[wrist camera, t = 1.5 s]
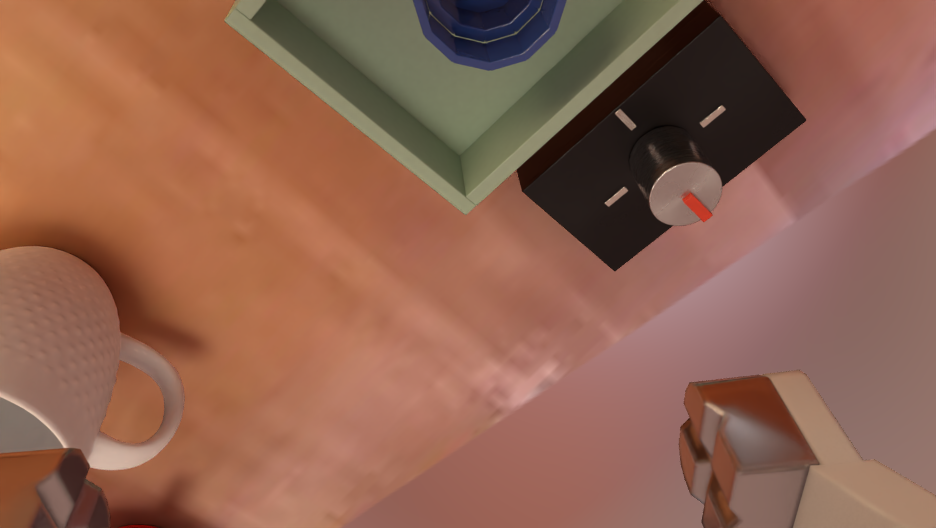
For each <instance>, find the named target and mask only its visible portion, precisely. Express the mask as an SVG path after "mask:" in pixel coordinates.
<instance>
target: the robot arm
mask: <svg viewBox="0 0 936 528" xmlns="http://www.w3.org/2000/svg"><path fill="white" fill-rule="evenodd" d="M684 405H685V408H686V410H687V412H688V415H689V417H690V418H689V419H688V420H687V421H686V422H685V423H684V424H683V425H682V426H681V427H680V438H679V450H680V461H681V467H682V470H683V474H684V478H685V481H686V484H687V486H688V489H689V492H690V494H691V495H692V496H693V497H694V498H696V499H697V500H699V501H700V502H701V503H703V504H704V511H703V516H702V524H703V527H704V528H936V495H934V494H932V493H931V492H929V491H927V490H926V489H924V488H922V487H921V486H919V485H917V484H916V483H914V482H912V481H910V480H909V479H907V478H905V477H903V476H902V475H900V474H898V473H897V472H895V471H894V470H892V469H890V468H888V467H887V466H885V465H883V464H882V463H880V462H878V461H876V460H875V459H874V460H863V459H862V457H861V456H860V455H859V453H858V452H857V450H856V448H855V447H854V445H853V444H852V442H851V441H850V440H849V438H848V436H847V435H846V433H845V432H844V430H843V429H842V427H841V426H840V424H839V423H838V421H837V420H836V418H835V417H834V415H833V414H832V412H831V411H830V409H829V408H828V406H827V405H826V403H825V402H824V400H823V399H822V397H821V396H820V394H819V393H818V391H817V390H816V388H815V387H814V385H813V384H812V382H811V381H810V379H809V378H808V376H807V375H806V374H805V373H803V372H802V371H800V370H795V371H786V372H778V373H769V374H763V375H751V376H743V377H734V378H725V379H716V380H708V381H699V382H690V383H689V385H688V387H687V388H686V391H685V398H684ZM89 468H90V465H89V463H88V461H87V459H86V458H85V456H84V454H83V452H82V451H81V449H77V448H60V449H47V450H35V451H22V452H10V453H0V528H110V512H109V507H108V502H107V499H106V497H105V495H104V493H103V491H102V489H101V488H100V487H98V486H96V485H95V484H93V483H91V482H90V481H88V480H86V479H85V478H86V475H87V473H88V470H89Z"/></svg>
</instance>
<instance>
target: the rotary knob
mask: <svg viewBox="0 0 936 528" xmlns="http://www.w3.org/2000/svg"><path fill="white" fill-rule="evenodd" d="M629 165H630V170H631V173H632V175H633V177H634V179H635V181H636V183H637V184H638V186H639V188H640V190H641V192H642V194H643V196H644V198H645V200H646V202H647V204H648V206H649V208H650V210H651V212H652V213H653V215H654V216H655V217H656V218H657V219H658V220H660V221H661V222H663V223H665V224H668V225H673V226H684V225H689V224H692V223H695V222H697V221H699V220H702V221H703V222H705V221H706V220H707V219H709V218H710V217H711V216H712V213H711V211H712V210H713V209H714V208H715V207H716V205H717V203H718V202H719V199H720V197H721V193H722V181H721V178H720V176H719V174H718V172H717V171H716V170H715V168H714V167H713V165H712V164H711V163H710V161H709V160H708V158H707V157H706V155H705V154H704V153H703V151H702V150H701V148H700V147H699V145H698V144H697V143H696V141H695V140H694V138H693V137H692V136H691V135H690V134H689V133H688V132H687V131H685V130H684V129H681V128H678V127H673V126H665V127H659V128H656V129H654V130H651V131H649V132H648V133H646V134H645V135H644V136H642V137H641V138H640V139H639V140H638V141H637V143H636V144H635V146H634V147H633V149H632V152H631V154H630V160H629Z"/></svg>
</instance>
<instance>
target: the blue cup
mask: <svg viewBox="0 0 936 528" xmlns="http://www.w3.org/2000/svg"><path fill="white" fill-rule="evenodd" d="M566 1H567V0H543V2H542V0H413V3H414V6H415V10H416V13H417V16H418V19H419V22H420V26H421V29H422V32H423V35H424V36H425V38H426V39H427V40H428V41H429V42H431V43H432V44H433V45H434V46H435V47H436V48H437V49H438V50H439V51H440V52H441V53H443V54H444V55H445V56H446V57H447V58H448V59H449V60H450V61H451V62H453V63H456V64H460V65H465V66H469V67H474V68H478V69H482V70H487V71H490V70H491V71H492V70H496V69H499V68H503V67H506V66H510V65H513V64H517V63H520V62H523V61H526V60H527V59H529V58H530V57H531V56H532V55H533V54H535V53H536V52H537V51H538V50H539V49H540V48H541V47H542V46H543V45H544V44H545V43H546V42H547V41H548V40H549V39H550V38H551V37H552V36H553V35H554V34H555V33H556V31H557V29H558V26H559V23H560V20H561V17H562V14H563V11H564V7H565V4H566ZM541 3H542V6H541ZM540 7H541V9H540V11H539V12H538V9H539V8H540ZM428 8H429V9H428ZM429 11H430V12H431V14H432V15H433V16H434V17H435V18H436V19H437V20H438V21H439V22H440V23H441V24H442V25H443V26H442V25H441V24H440V23H439V22H438V21H437V20H436V19H435V18H434V17H433V16H432V15H431V14H430V12H429ZM537 12H538V13H537ZM536 13H537V14H536ZM535 14H536V15H535ZM534 15H535V16H534ZM533 16H534V17H533ZM532 17H533V18H532ZM531 18H532V19H531ZM530 19H531V20H530ZM529 20H530V21H529ZM528 21H529V22H528ZM527 22H528V23H527ZM526 23H527V24H526ZM525 24H526V25H525ZM524 25H525V26H524ZM523 26H524V27H523ZM522 27H523V28H522ZM521 28H522V29H521ZM520 29H521V30H520ZM448 30H449V31H450V32H451V33H452V34H455V36H459V37H455V36H453V35H452V34H451V33H450V32H449V31H448ZM519 30H520V31H519ZM518 31H519V32H518ZM515 32H518V33H517V34H515V35H512V34H514V33H515ZM508 35H512V36H508ZM505 36H508V37H505ZM460 37H463V38H460ZM502 37H505V38H502ZM464 38H467V39H464ZM498 38H502V39H498ZM468 39H472V40H468ZM495 39H498V40H495ZM473 40H476V41H473ZM491 40H495V41H491ZM477 41H480V42H477ZM484 41H486V42H488V41H491V42H488V43H481V42H484Z"/></svg>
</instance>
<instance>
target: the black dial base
mask: <svg viewBox="0 0 936 528" xmlns="http://www.w3.org/2000/svg"><path fill="white" fill-rule="evenodd" d="M805 121H806V119H805V118H804V116H803V115H802V114H801V113H800V111H799V110H798V109H797V108H796V107H795V105H794V104H793V103H792V102H791V100H790V99H789V98H788V97H787V96H786V94H785V93H784V92H783V91H782V89H781V88H780V87H779V86H778V85H777V83H776V82H775V81H774V80H773V78H772V77H771V76H770V75H769V74H768V72H767V71H766V70H765V69H764V67H763V66H762V65H761V64H760V63H759V61H758V60H757V59H756V58H755V56H754V55H753V54H752V53H751V52H750V50H749V49H748V48H747V47H746V45H745V44H744V43H743V42H742V41H741V39H740V38H739V37H738V36H737V34H736V33H735V32H734V31H733V30H732V28H731V27H730V26H729V25H728V23H727V22H726V21H725V20H724V19H723V17H722V16H721V15H720V14H719V13H718V12H717V11H716V10H715V9H713V8H712V7H711V6H710V5H709V4H708V3H707V2H706V1H705V0H703V1H702V2H701V3H700V4H699V5H698V6H697V7H695V8H694V9H693V10H692V11H691V12H690V13H689V14H688V15H687V16H686V17H684V18H683V19H682V20H681V21H680V22H679V23H678V24H677V25H676V26H674V27H673V28H672V29H671V30H670V31H669V32H668V33H667V34H666V35H665V36H663V37H662V38H661V39H660V40H659V41H658V42H657V43H656V44H655V45H653V46H652V47H651V48H650V49H649V50H648V51H647V52H646V53H645V54H644V55H642V56H641V57H640V58H639V59H638V60H637V61H636V62H635V63H634V64H633V65H631V66H630V67H629V68H628V69H627V70H626V71H625V72H624V73H623V74H621V75H620V76H619V77H618V78H617V79H616V80H615V81H614V82H613V83H612V84H610V85H609V86H608V87H607V88H606V89H605V90H604V91H603V92H602V93H600V94H599V95H598V96H597V97H596V98H595V99H594V100H593V101H592V102H591V103H589V104H588V105H587V106H586V107H585V108H584V109H583V110H582V111H581V112H579V113H578V114H577V115H576V116H575V117H574V118H573V119H572V120H571V121H570V122H568V123H567V124H566V125H565V126H564V127H563V128H562V129H561V130H560V131H559V132H557V133H556V134H555V135H554V136H553V137H552V138H551V139H550V140H549V141H547V142H546V143H545V144H544V145H543V146H542V147H541V148H540V149H539V150H538V151H536V152H535V153H534V154H533V155H532V156H531V157H530V158H529V159H528V160H526V161H525V162H524V163H523V164H522V165H521V166H520V167H519V168H518V169H517V173H518V177H519V181H520V185H521V188H522V192H523V193H525V194H526V195H527V196H528V197H529V198H530V199H531V200H533V201H534V202H535V203H536V204H537V205H538V206H540V207H541V208H542V209H543V210H544V211H545V212H547V213H548V214H549V215H550V216H551V217H552V218H553V219H555V220H556V221H557V222H558V223H559V224H560V225H562V226H563V227H564V228H565V229H566V230H567V231H569V232H570V233H571V234H572V235H573V236H574V237H575V238H577V239H578V240H579V241H580V242H581V243H582V244H584V245H585V246H586V247H587V248H588V249H589V250H591V251H592V252H593V253H594V254H595V255H596V256H597V257H599V258H600V259H601V260H602V261H603V262H604V263H606V264H607V265H608V266H609V267H610V268H611V269H613V270H614V271H616V270H617V269H619V268H620V267H621V266H622V265H624V264H625V263H626V262H628V261H629V260H630V259H631V258H633V257H634V256H635V255H636V254H638V253H639V252H640V251H642V250H643V249H644V248H645V247H647V246H648V245H649V244H650V243H652V242H653V241H654V240H655V239H657V238H658V237H659V236H661V235H662V234H663V233H664V232H666V231H667V230H668V229H669V228H671V227H672V226H673V225H668V224H665V223H663V222H661V221H660V220H658V219H657V218H656V217H655V216H654V215H653V213H652V212H651V210H650V208H649V206H648V204H647V202H646V200H645V198H644V196H643V194H642V192H641V190H640V188H639V186H638V184H637V183H636V181H635V179H634V177H633V175H632V173H631V170H630V165H629V160H630V154H631V152H632V149H633V147H634V146H635V144H636V143H637V141H638V140H639V139H640V138H641V137H642V136H644V135H645V134H646V133H648V132H649V131H651V130H654V129H656V128H659V127H665V126H673V127H678V128H681V129H684V130H685V131H687V132H688V133H689V134H690V135H691V136H692V137H693V138H694V140H695V141H696V143H697V144H698V145H699V147H700V148H701V150H702V151H703V153H704V154H705V155H706V157H707V158H708V160H709V161H710V163H711V164H712V165H713V167H714V168H715V170H716V171H717V172H718V174H719V176H720V178H721V181H722V187H723V186H724V185H725V184H726V183H728V182H729V181H730V180H732V179H733V178H734V177H735V176H737V175H738V174H739V173H740V172H742V171H743V170H744V169H745V168H747V167H748V166H749V165H751V164H752V163H753V162H754V161H756V160H757V159H758V158H759V157H761V156H762V155H763V154H764V153H766V152H767V151H768V150H770V149H771V148H772V147H773V146H775V145H776V144H777V143H778V142H780V141H781V140H782V139H783V138H785V137H786V136H787V135H789V134H790V133H791V132H792V131H794V130H795V129H796V128H797V127H799V126H800V125H801V124H803V123H804V122H805Z"/></svg>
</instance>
